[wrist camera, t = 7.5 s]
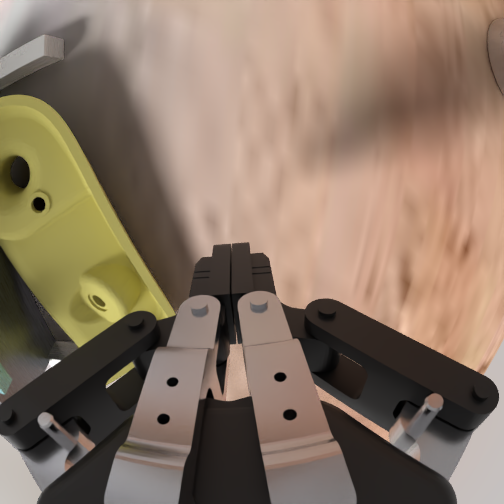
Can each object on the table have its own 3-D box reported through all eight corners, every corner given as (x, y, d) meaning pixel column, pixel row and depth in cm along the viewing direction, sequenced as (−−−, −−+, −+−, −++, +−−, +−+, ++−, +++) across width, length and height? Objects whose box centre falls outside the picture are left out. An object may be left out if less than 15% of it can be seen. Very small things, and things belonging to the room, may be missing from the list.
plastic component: (189, 333, 20) (85, 398, 17) (163, 288, 26) (79, 341, 23) (47, 62, 10) (-81, 168, 7) (60, 86, 16) (-38, 158, 13)
